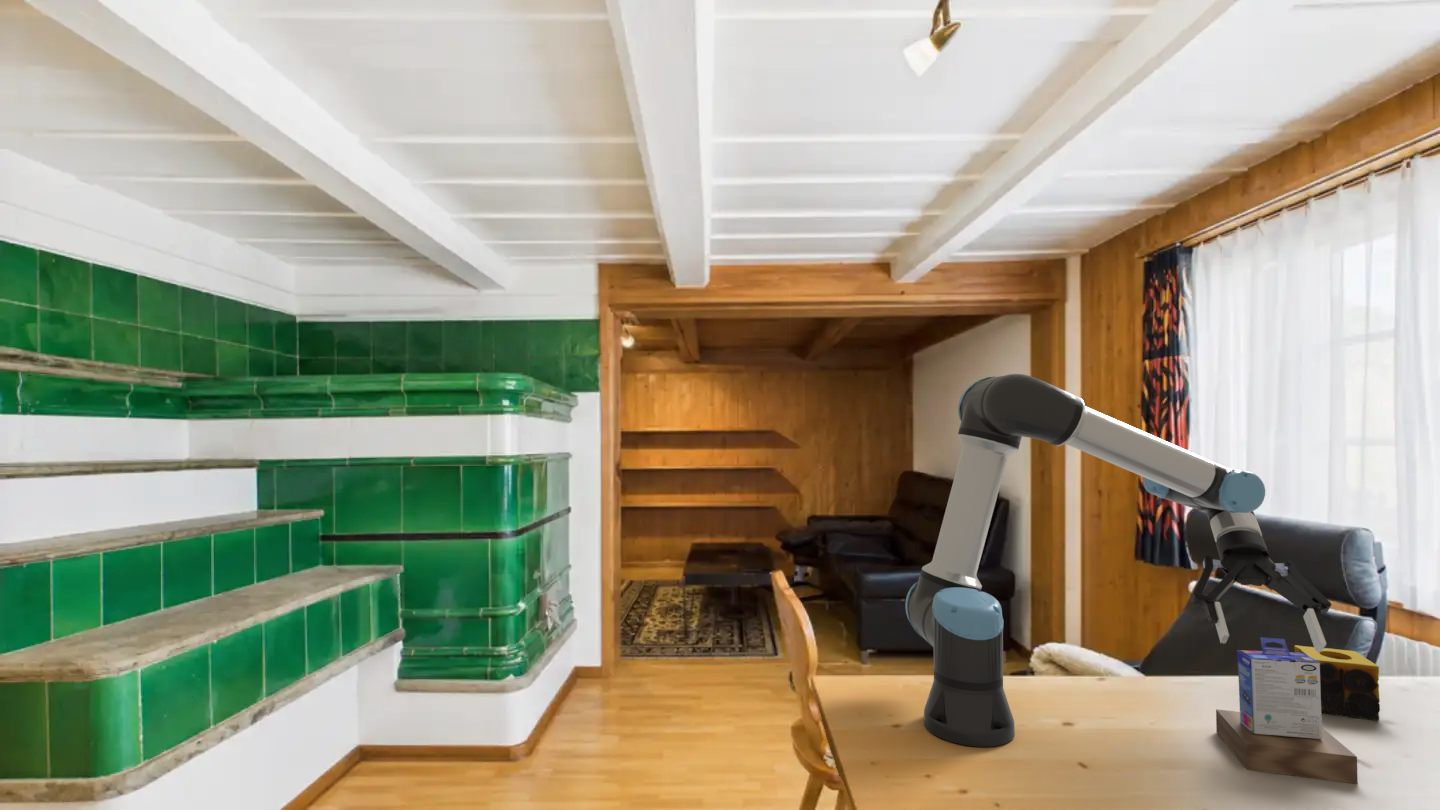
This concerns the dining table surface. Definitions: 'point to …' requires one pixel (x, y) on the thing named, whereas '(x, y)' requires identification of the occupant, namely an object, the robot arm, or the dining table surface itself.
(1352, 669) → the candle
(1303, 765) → the walnut stand
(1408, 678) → the dining table surface
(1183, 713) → the dining table surface
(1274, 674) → the ink cartridge box
